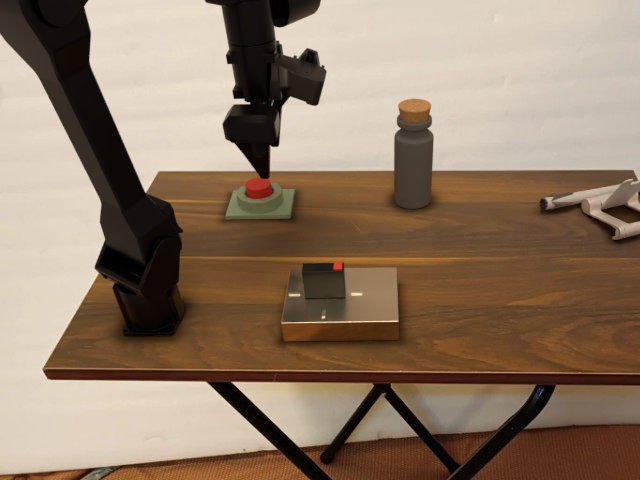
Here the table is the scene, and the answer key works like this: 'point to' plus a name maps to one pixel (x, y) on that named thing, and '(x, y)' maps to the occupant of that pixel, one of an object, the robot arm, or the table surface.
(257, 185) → the button
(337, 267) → the stove knob
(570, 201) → the rocket model
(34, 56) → the robot arm
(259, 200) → the switch block
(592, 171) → the table surface
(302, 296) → the panel
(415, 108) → the bottle
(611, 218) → the tablet stand
